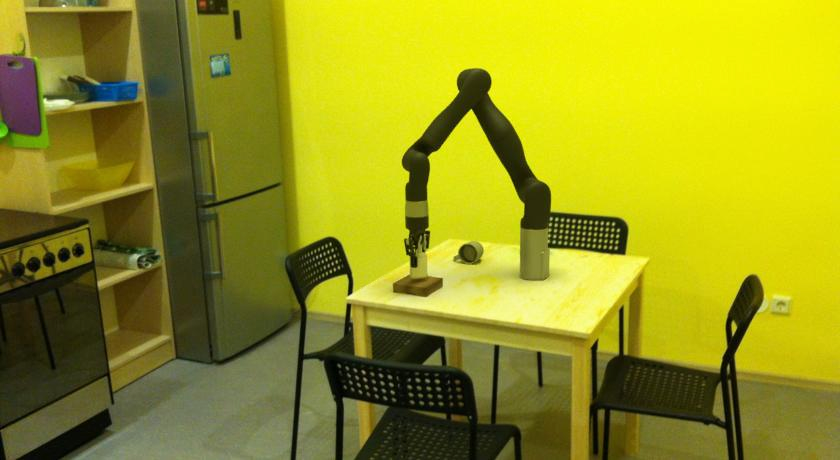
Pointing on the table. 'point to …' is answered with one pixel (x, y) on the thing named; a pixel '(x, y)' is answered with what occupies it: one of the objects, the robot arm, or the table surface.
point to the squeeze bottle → (419, 266)
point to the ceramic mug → (470, 252)
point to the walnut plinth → (418, 285)
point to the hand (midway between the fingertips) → (418, 265)
